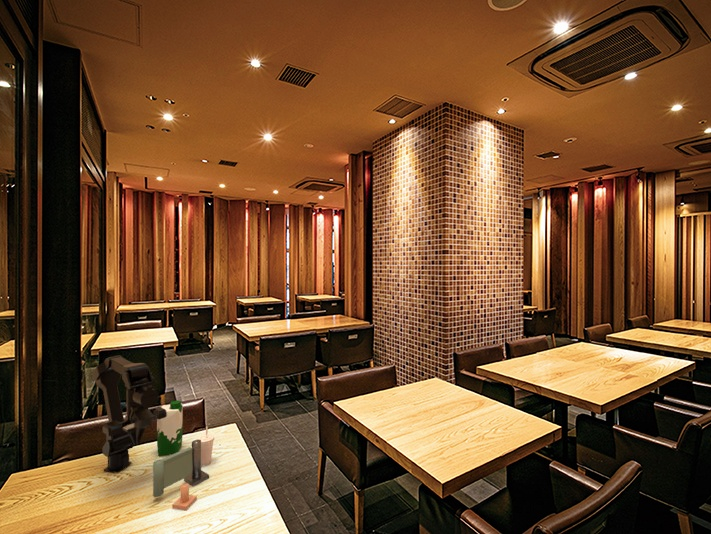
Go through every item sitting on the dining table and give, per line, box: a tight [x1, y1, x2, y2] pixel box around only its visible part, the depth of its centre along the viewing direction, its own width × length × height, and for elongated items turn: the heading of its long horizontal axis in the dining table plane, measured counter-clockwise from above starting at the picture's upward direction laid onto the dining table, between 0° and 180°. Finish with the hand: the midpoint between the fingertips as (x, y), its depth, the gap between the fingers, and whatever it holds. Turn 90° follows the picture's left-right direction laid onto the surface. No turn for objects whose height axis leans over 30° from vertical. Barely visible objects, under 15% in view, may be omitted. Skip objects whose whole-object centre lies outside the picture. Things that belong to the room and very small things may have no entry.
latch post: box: [171, 482, 198, 511], centre depth 110 cm, size 5×5×6 cm
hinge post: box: [183, 439, 210, 488], centre depth 123 cm, size 6×6×14 cm
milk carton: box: [156, 400, 184, 457], centre depth 142 cm, size 9×9×20 cm
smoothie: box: [196, 426, 215, 466], centre depth 133 cm, size 6×6×14 cm
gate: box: [152, 446, 192, 498], centre depth 116 cm, size 12×3×10 cm, turn 145°
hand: (136, 444), depth 122 cm, fingers closed
